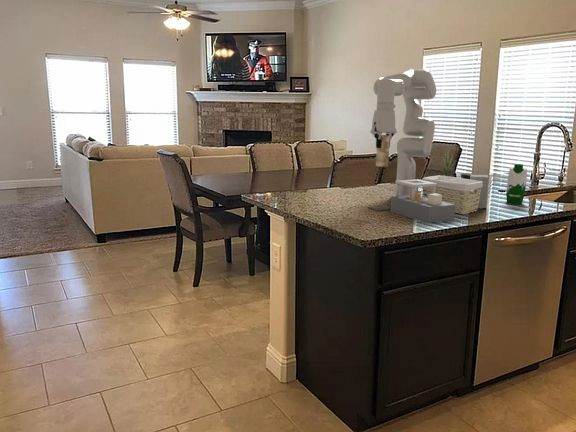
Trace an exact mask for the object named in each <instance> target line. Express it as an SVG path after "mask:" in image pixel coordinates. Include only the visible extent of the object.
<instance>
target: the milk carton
mask: <svg viewBox="0 0 576 432" xmlns="http://www.w3.org/2000/svg"><path fill="white" fill-rule="evenodd" d="M507 175H508V176H507V181H506V182H507V184H506V192H505V193H506V196H505V197H506V204H507V203H512V204H511V205H519V204H521V205H522V204H523V201H524V198H525V194H526V187H527V176H528V170H527V168H526V167H524V164H523V163H521V164H520V163H514V166H513V167H512V166H510V167H509V171H508V174H507Z"/></svg>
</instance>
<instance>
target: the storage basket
mask: <svg viewBox="0 0 576 432" xmlns="http://www.w3.org/2000/svg"><path fill="white" fill-rule="evenodd" d="M421 180H424V181H429V182H433V183H437V186H436V187H435V193H436V194H440V195H442V201H443V202H447V203H451V204H455V214H456V213H458V214H459V215H466V213H468V214H470V212H472V213H475V212H477V211H478V209H479V208H478V203H479V199H480V192H481V188H482V187H483V182H482V181H477V180H470V179H463V178H461V177H455V176H452V177H449V176H445V175H444V176H443V175H440V174H438V175H432V176H426V177H422V178H421ZM421 188H422V190H421V194H422V195H421V196H423V197H427V198H428V194H432V189H433V186H423V187H421ZM474 211H475V212H474Z"/></svg>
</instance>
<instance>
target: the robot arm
mask: <svg viewBox="0 0 576 432" xmlns="http://www.w3.org/2000/svg"><path fill="white" fill-rule="evenodd" d="M373 93H374V94H375V95H376V96H377V98H376V100H377V101H376V109H375V110H374V113H373V117H372V121H371V123H372V124H371V130H370V134H371V135H372V136H373V137H374V138H375V149H377V148H381V141H382V139H381V135H383V133H385V135H388V136H390V141H389V149H390V146H391V140H392V138H393V137H394V135H396V134H397V133H398V132H397V129H396V113H395V109H394V108H396V104H395V97H400V96H402V97H403V100H404V104H405V116H404V122H403V128H402V129H403V130H402V131H403V134H404V135H405V136H409V137H401V138H400V139H398V141H397V143H396V153H397V154H396V155H397V166H396V167H397V168H396V180H395V181H397V180H415V179H416V171H417V170H416V169H417V165H416V161H415V159H414V158H413V157H417V158H428V157H429V156H430V155H431V151H432V147H433V141H434V138H435V137H434V136H435V130H436V124H435V121H434V120H433V119H432V118H429V117H423V113H424V110H423V109H424V108H423V107H422V105H421V104H420V102H419V100H432V99H434V98H436V95H437V85H436V83H435V80H434V78H433V75H432V73H431V72H430V70H429V69H424V68H422V69H421V68H419V69H418V68H416V69H415V68H413V69H407V70H404V71H403V72H400V73H396V74H392V75H386V76H382V77H379V78H377V79H376V80H375V81H374V84H373ZM396 185H397V183H395V186H396ZM410 193H412V187H411V186H407V185H403V184H399V196H404V195H410ZM415 193H416V188H415ZM418 194H422V190H421V189H419V190H418ZM392 196H396V193H393V194H392Z"/></svg>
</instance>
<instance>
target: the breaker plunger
mask: <svg viewBox="0 0 576 432" xmlns="http://www.w3.org/2000/svg"><path fill="white" fill-rule="evenodd" d="M421 194H422V193H420V194H417V193H415V199H414V200H420V197H421V196H422V195H421ZM409 199H411V200H412V193H410V197H409Z"/></svg>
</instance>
